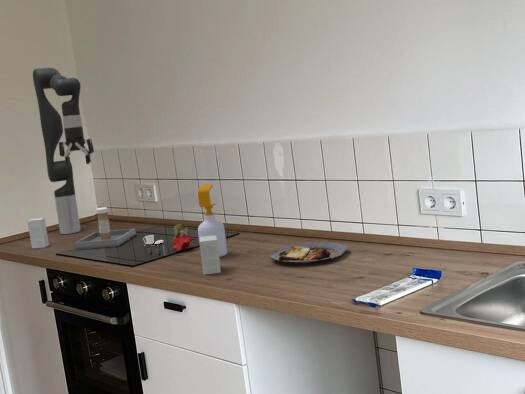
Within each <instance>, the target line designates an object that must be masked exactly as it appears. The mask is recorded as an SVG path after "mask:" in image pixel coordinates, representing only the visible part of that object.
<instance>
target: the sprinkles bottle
mask: <svg viewBox="0 0 525 394" xmlns="http://www.w3.org/2000/svg"><path fill="white" fill-rule="evenodd" d="M108 211H109V210H108V207H106V206H105V207H98V208H96V209H95V212H96V216H97V223H98V224H97V225H98V232H99V233H100V238H101V239H100V240H111V234H110V231H111V227H110V220H109V212H108Z"/></svg>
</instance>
